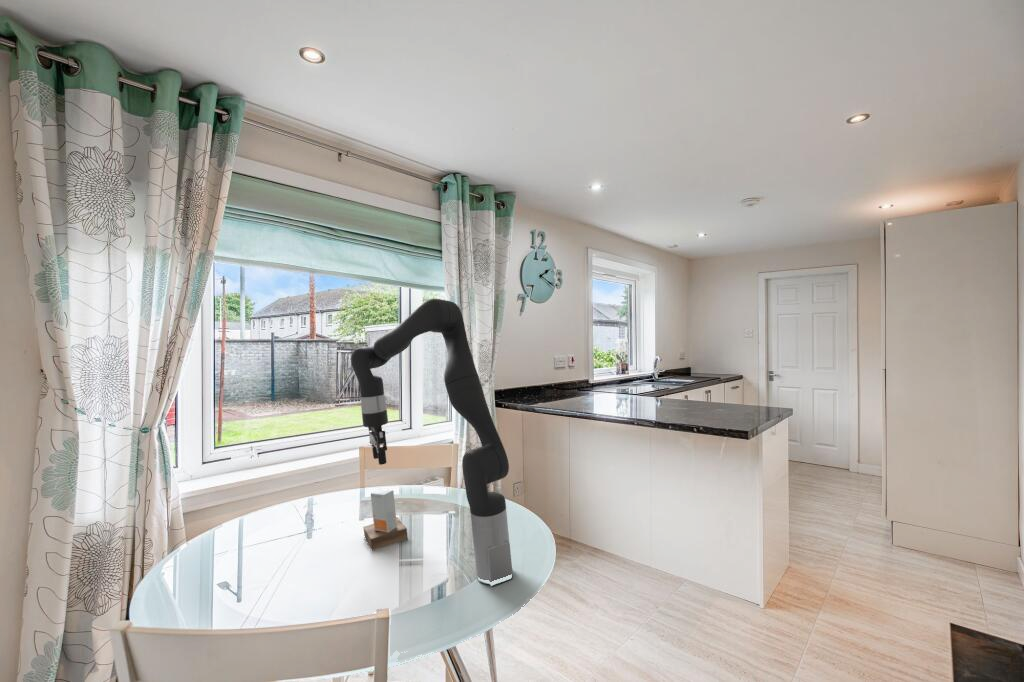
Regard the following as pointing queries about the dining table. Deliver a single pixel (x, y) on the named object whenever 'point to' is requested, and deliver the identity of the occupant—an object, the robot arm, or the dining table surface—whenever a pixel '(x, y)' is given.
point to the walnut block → (385, 535)
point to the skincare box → (383, 510)
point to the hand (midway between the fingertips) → (379, 461)
